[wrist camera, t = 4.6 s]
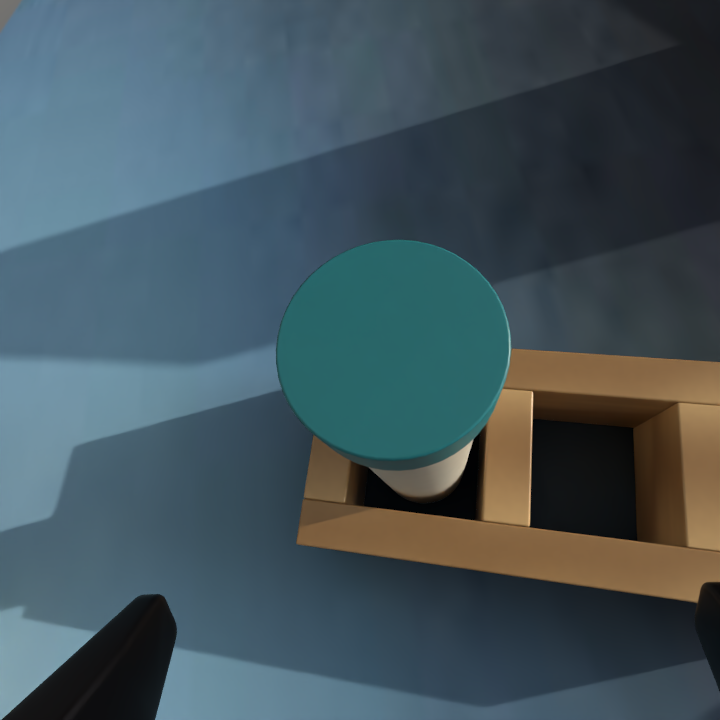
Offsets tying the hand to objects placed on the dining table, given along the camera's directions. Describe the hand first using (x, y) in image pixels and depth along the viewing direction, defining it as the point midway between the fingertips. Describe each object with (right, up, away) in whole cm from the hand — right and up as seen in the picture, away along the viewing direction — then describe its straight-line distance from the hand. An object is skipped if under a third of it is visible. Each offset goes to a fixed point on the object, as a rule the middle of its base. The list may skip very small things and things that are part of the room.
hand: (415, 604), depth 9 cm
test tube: (+2, 0, +11) cm, 12 cm away
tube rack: (+7, 0, +10) cm, 13 cm away
